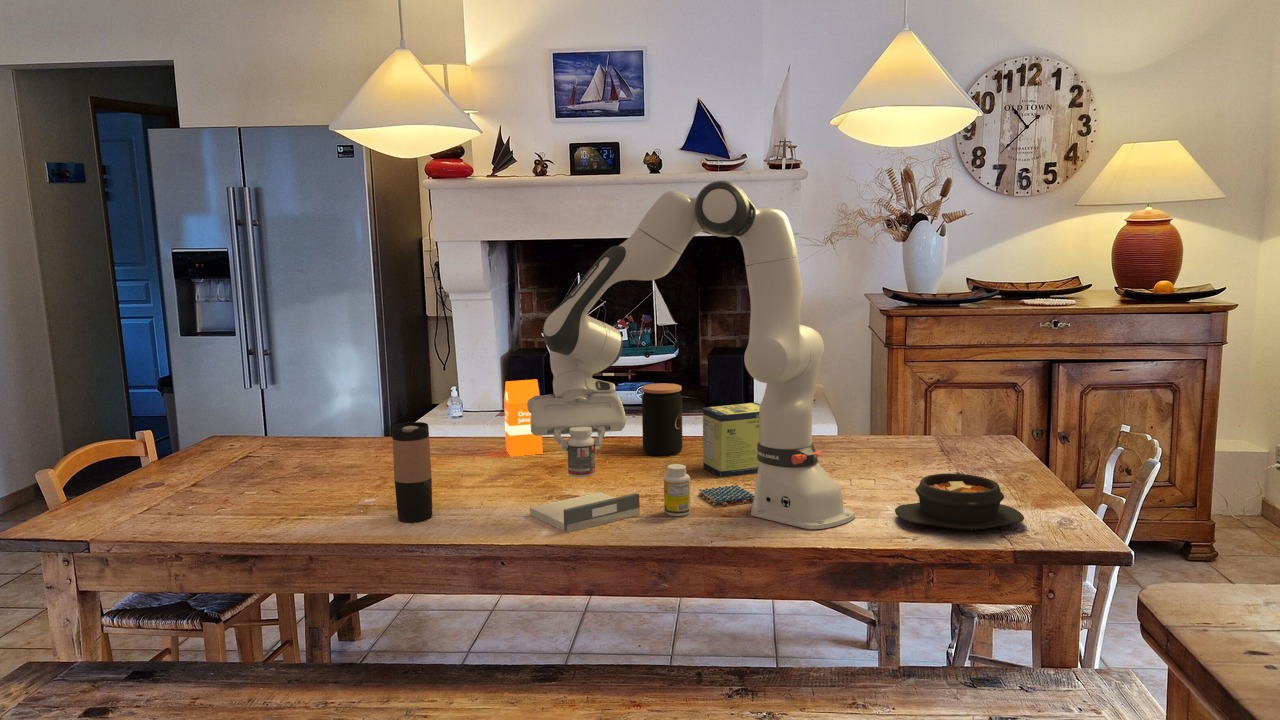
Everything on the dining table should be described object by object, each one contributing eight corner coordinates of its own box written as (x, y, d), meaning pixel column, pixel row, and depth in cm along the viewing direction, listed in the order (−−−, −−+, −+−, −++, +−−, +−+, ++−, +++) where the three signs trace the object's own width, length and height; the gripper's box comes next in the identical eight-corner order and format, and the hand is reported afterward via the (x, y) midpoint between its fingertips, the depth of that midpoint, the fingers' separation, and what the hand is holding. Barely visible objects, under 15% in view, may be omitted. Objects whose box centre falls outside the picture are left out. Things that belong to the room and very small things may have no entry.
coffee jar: (683, 457, 245) (682, 389, 242) (642, 457, 245) (641, 390, 243) (682, 447, 256) (681, 382, 253) (643, 447, 256) (642, 383, 253)
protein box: (776, 470, 230) (777, 409, 228) (720, 478, 224) (720, 414, 222) (756, 461, 240) (756, 401, 237) (701, 467, 234) (701, 407, 232)
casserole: (907, 538, 180) (908, 496, 178) (885, 509, 198) (886, 470, 197) (1038, 537, 179) (1040, 495, 177) (1004, 508, 197) (1005, 469, 196)
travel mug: (418, 510, 203) (413, 420, 200) (441, 516, 198) (436, 424, 196) (389, 518, 197) (383, 426, 194) (411, 525, 193) (406, 431, 190)
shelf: (640, 515, 197) (639, 494, 196) (567, 532, 186) (567, 511, 186) (600, 499, 209) (599, 479, 208) (530, 514, 198) (529, 494, 198)
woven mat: (715, 510, 201) (715, 501, 200) (696, 497, 211) (696, 488, 210) (759, 504, 204) (759, 495, 204) (738, 492, 214) (738, 483, 214)
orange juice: (505, 451, 255) (502, 379, 252) (537, 448, 258) (535, 377, 255) (510, 457, 248) (507, 383, 245) (543, 454, 250) (540, 381, 247)
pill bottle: (598, 476, 193) (597, 430, 192) (571, 479, 192) (570, 432, 190) (591, 469, 199) (590, 424, 197) (565, 472, 197) (564, 426, 195)
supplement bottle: (670, 507, 201) (669, 462, 200) (694, 510, 199) (693, 464, 198) (660, 515, 196) (659, 468, 195) (684, 518, 194) (684, 470, 193)
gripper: (526, 387, 197) (532, 443, 189) (621, 383, 201) (630, 437, 193) (525, 404, 202) (530, 459, 194) (618, 399, 206) (627, 453, 198)
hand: (581, 448), depth 194 cm, fingers closed on pill bottle, 6 cm apart
